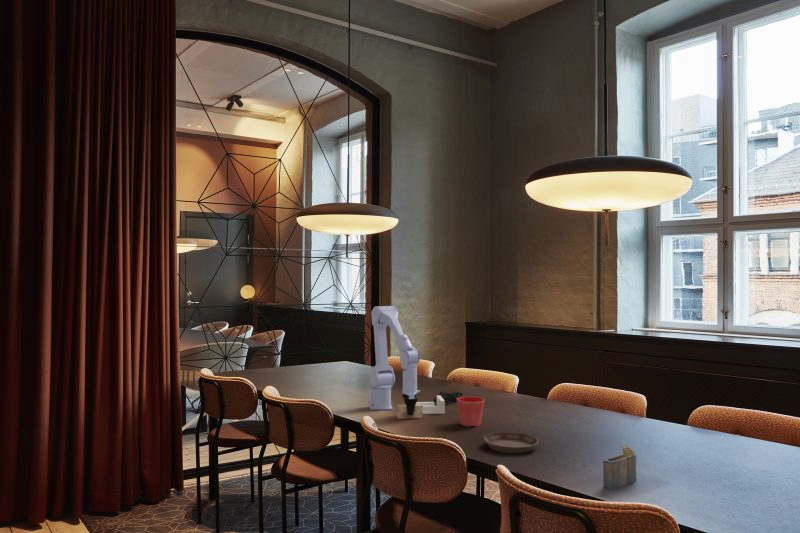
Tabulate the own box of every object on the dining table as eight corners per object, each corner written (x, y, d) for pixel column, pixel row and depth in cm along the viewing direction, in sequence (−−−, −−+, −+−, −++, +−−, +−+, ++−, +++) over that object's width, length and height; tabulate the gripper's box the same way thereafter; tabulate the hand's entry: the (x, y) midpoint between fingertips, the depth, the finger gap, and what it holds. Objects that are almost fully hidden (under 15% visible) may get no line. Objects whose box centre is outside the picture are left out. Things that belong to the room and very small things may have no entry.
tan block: (397, 419, 244) (397, 406, 244) (396, 416, 248) (396, 404, 248) (422, 418, 245) (422, 405, 245) (421, 416, 249) (421, 403, 249)
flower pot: (488, 422, 237) (488, 397, 237) (479, 429, 227) (479, 402, 227) (462, 419, 242) (462, 395, 242) (452, 426, 232) (452, 400, 232)
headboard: (411, 414, 252) (411, 401, 252) (408, 408, 264) (408, 395, 264) (444, 413, 253) (444, 400, 253) (440, 407, 265) (440, 395, 265)
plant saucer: (549, 450, 200) (549, 440, 201) (508, 458, 191) (508, 449, 191) (512, 438, 215) (512, 429, 215) (473, 445, 206) (473, 436, 206)
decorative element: (440, 408, 263) (440, 395, 263) (430, 407, 265) (430, 393, 265) (464, 401, 281) (464, 388, 282) (454, 400, 284) (454, 387, 284)
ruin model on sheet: (626, 479, 172) (626, 444, 172) (636, 482, 169) (635, 447, 170) (602, 488, 165) (601, 451, 165) (611, 491, 163) (611, 454, 163)
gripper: (421, 382, 240) (421, 417, 240) (417, 376, 254) (417, 409, 254) (403, 383, 239) (403, 417, 239) (400, 376, 254) (400, 409, 254)
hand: (409, 413), depth 247 cm, fingers open, 5 cm apart
